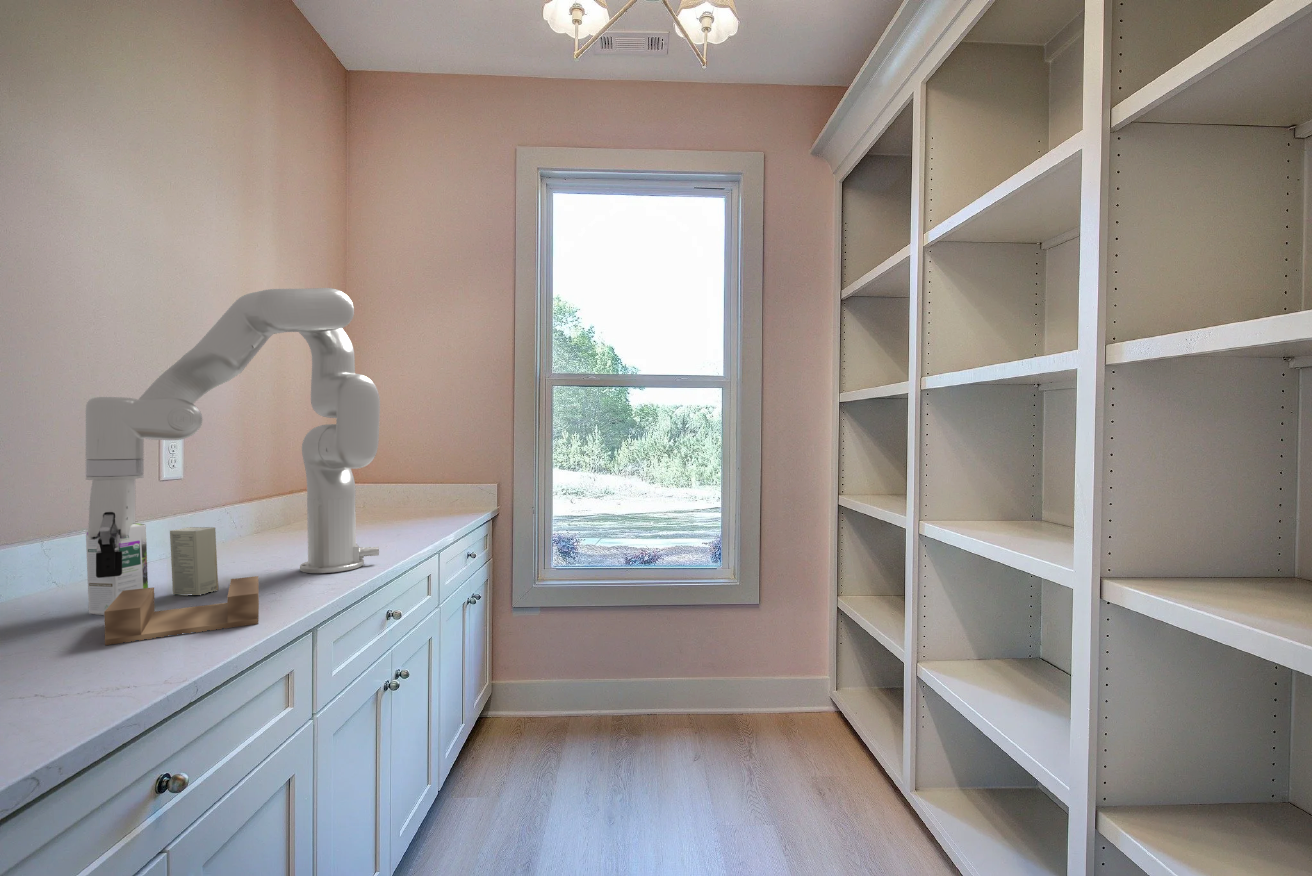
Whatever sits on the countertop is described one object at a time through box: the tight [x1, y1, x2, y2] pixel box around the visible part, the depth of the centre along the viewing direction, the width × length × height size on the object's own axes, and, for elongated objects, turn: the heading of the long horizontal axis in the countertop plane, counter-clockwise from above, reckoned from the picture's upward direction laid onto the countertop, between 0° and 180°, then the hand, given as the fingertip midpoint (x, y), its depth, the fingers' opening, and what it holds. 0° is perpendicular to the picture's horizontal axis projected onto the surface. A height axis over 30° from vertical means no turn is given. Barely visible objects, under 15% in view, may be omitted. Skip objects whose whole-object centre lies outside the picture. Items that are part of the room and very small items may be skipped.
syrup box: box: [85, 522, 149, 616], centre depth 108 cm, size 6×6×14 cm
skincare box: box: [169, 526, 219, 596], centre depth 119 cm, size 6×4×12 cm
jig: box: [103, 575, 260, 646], centre depth 101 cm, size 18×14×5 cm
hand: (115, 571), depth 108 cm, fingers open, 9 cm apart
